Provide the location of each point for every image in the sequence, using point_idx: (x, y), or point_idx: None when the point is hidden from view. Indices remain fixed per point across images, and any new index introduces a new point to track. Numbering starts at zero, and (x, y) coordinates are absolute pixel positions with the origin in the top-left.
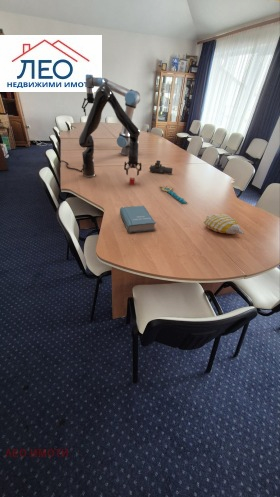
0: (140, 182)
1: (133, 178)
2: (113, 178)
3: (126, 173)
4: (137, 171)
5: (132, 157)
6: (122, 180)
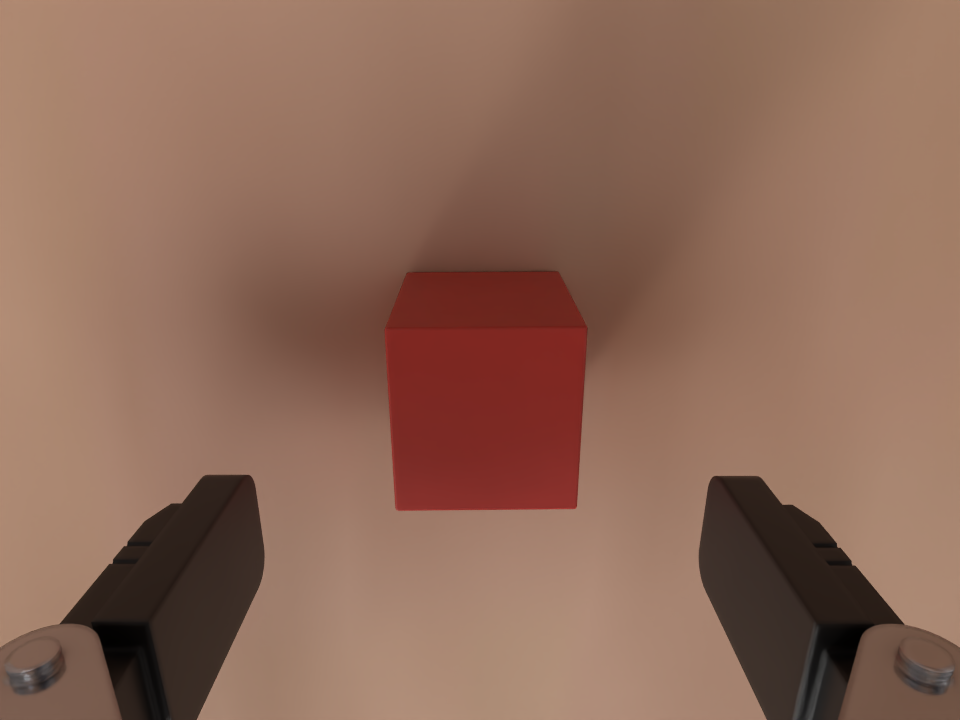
0: None
1: (432, 429)
2: None
3: (812, 532)
4: (144, 616)
5: None
6: None
